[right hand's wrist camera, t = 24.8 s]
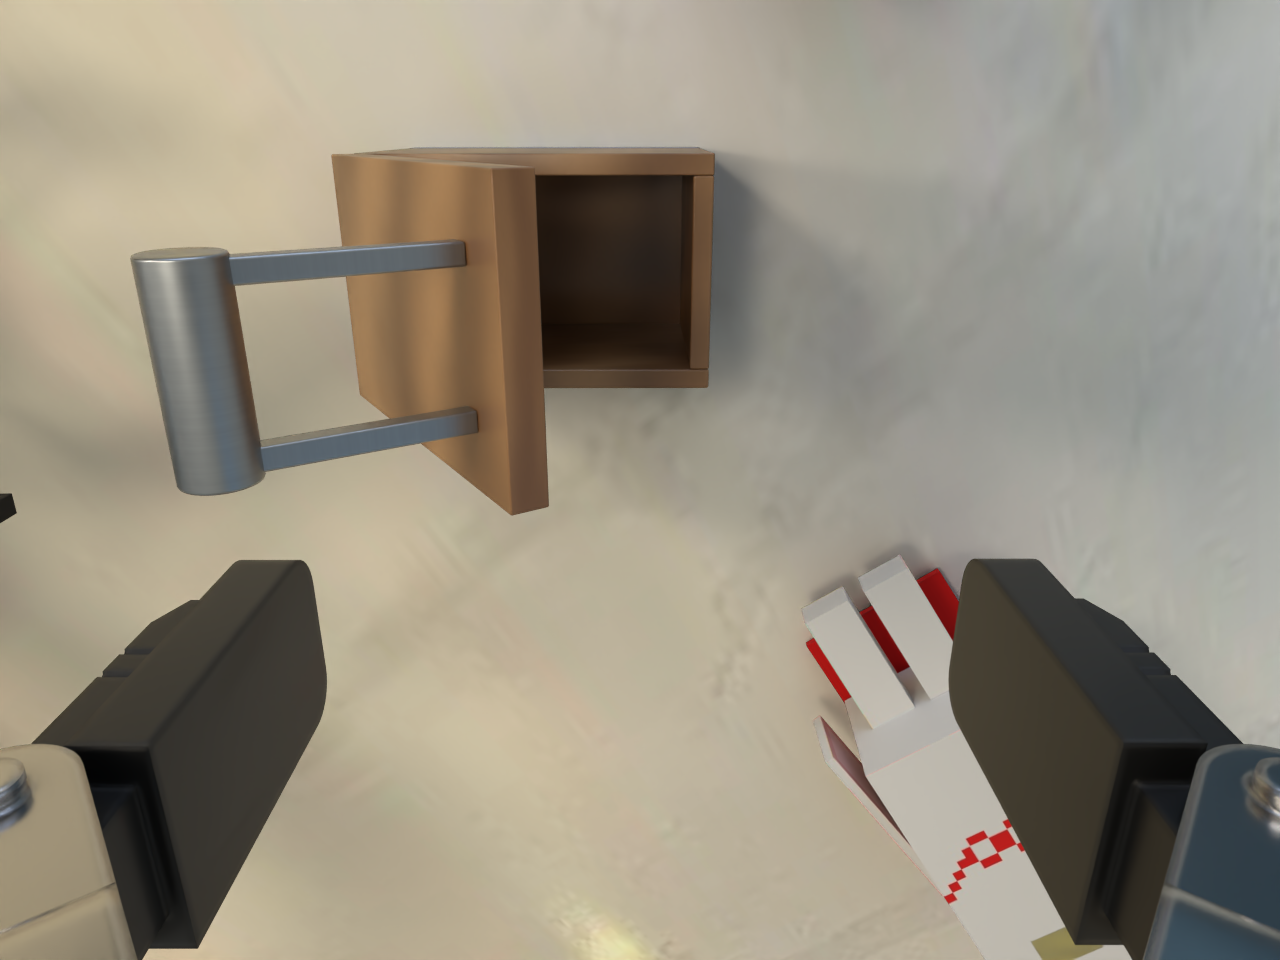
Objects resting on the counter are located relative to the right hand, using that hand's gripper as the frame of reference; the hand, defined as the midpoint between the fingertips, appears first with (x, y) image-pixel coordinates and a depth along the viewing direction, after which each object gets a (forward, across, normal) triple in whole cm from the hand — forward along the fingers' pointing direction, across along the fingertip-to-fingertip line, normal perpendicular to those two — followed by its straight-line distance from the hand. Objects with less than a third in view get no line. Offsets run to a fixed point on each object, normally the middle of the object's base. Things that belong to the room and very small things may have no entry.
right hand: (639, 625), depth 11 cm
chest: (+38, -4, 0) cm, 39 cm away
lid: (+21, -7, 0) cm, 22 cm away
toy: (+38, +20, -31) cm, 53 cm away
